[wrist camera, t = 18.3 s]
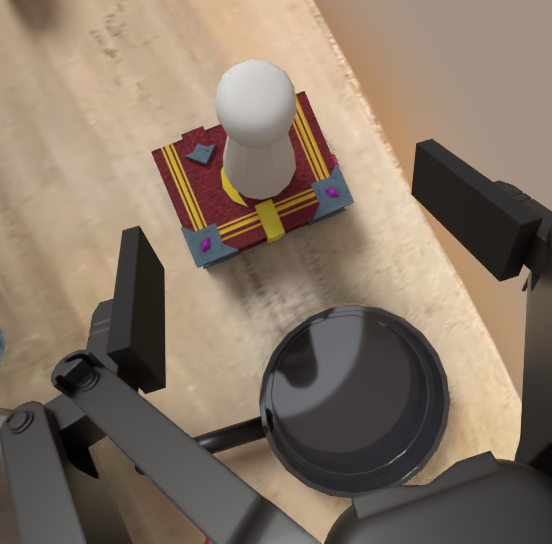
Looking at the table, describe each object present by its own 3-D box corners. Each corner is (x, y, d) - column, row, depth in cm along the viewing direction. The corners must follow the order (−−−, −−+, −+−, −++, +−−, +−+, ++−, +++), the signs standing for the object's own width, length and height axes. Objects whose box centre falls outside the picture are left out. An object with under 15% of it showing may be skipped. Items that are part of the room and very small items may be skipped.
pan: (233, 433, 35) (229, 453, 31) (300, 276, 36) (305, 275, 32) (389, 499, 35) (405, 527, 31) (454, 342, 36) (477, 350, 32)
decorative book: (162, 165, 35) (145, 146, 30) (310, 106, 36) (317, 78, 31) (205, 270, 35) (196, 268, 30) (353, 208, 36) (367, 197, 31)
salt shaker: (282, 131, 31) (295, 22, 18) (301, 194, 31) (329, 130, 18) (217, 150, 31) (183, 53, 18) (236, 213, 30) (216, 163, 18)
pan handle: (270, 410, 33) (270, 417, 31) (276, 428, 33) (276, 437, 31) (136, 452, 32) (128, 462, 31) (142, 471, 32) (134, 482, 31)
